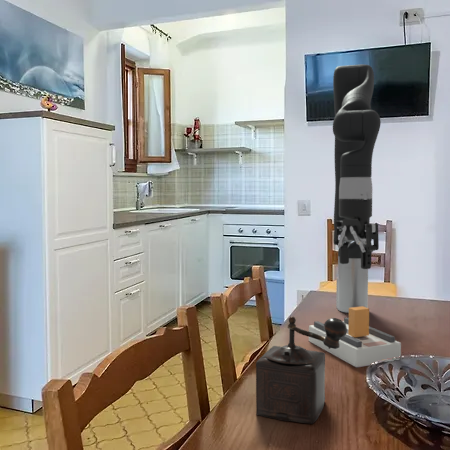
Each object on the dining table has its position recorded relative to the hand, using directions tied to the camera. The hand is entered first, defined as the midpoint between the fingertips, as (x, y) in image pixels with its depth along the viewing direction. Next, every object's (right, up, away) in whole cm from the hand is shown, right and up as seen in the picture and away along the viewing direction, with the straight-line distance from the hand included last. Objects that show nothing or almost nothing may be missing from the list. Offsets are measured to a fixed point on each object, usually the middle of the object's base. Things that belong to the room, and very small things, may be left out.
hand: (354, 266), depth 116 cm
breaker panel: (0, -20, +3) cm, 21 cm away
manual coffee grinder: (-17, -23, -29) cm, 41 cm away
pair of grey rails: (0, -16, +3) cm, 17 cm away
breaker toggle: (+1, -16, 0) cm, 16 cm away
